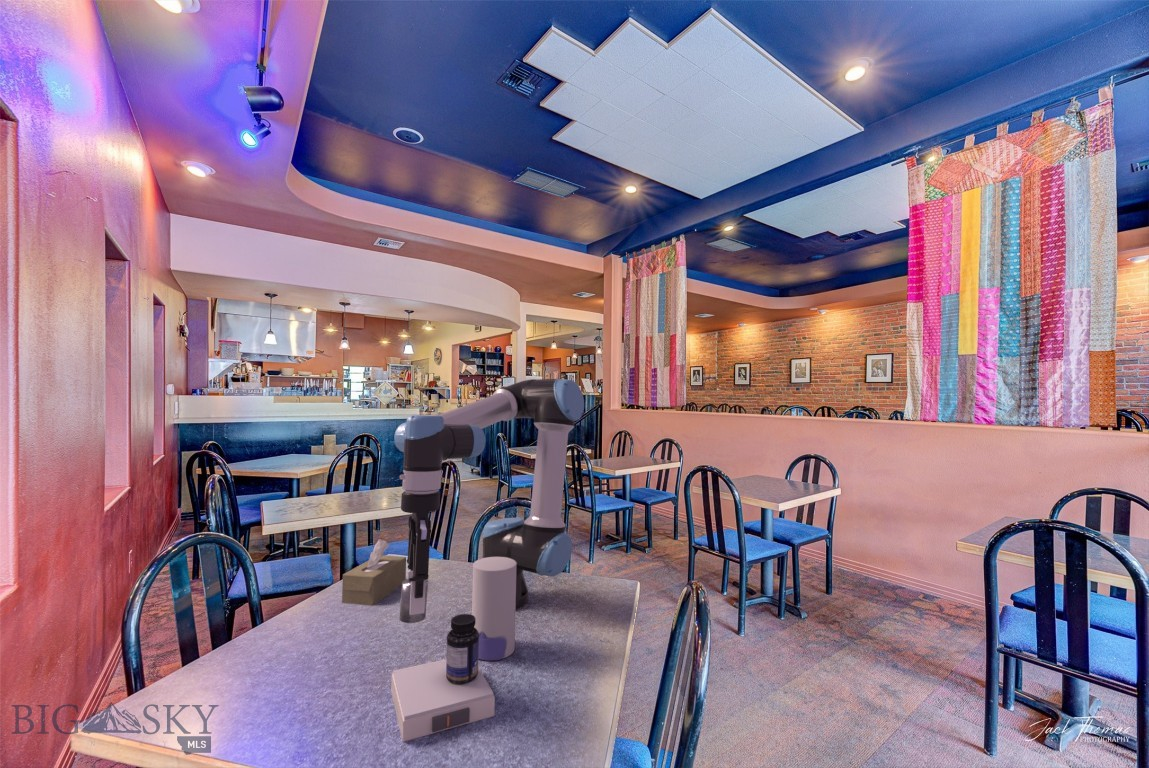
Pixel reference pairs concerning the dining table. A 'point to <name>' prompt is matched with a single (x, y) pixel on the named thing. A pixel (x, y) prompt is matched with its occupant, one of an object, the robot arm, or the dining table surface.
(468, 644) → the pill bottle
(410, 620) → the cylinder
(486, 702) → the scale
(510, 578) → the container
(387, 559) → the tissue box
